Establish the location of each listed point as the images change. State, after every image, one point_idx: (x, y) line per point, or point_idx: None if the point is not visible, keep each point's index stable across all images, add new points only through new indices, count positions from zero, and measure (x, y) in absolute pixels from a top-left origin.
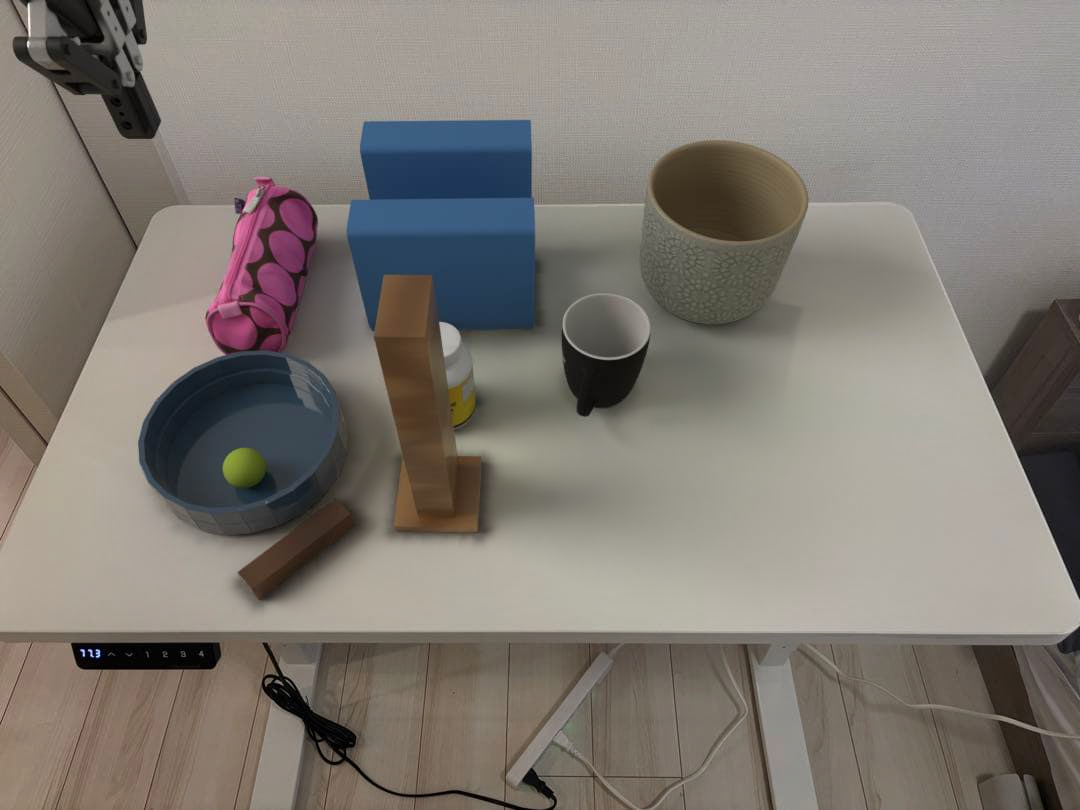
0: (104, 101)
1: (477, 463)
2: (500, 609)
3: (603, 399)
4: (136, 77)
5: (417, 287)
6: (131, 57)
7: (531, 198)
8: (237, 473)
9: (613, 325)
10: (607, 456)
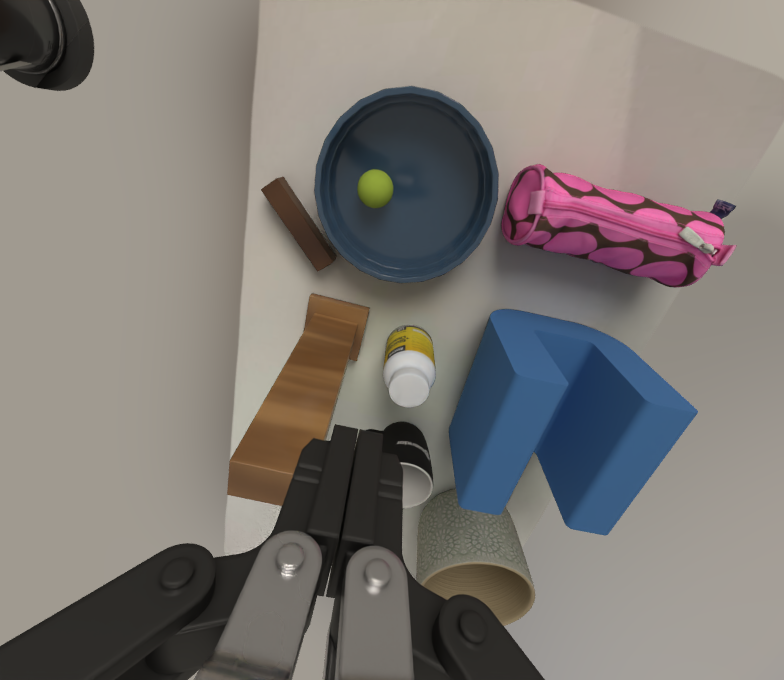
0: (281, 512)
1: (350, 358)
2: (248, 345)
3: None
4: (330, 595)
5: None
6: (324, 662)
7: (499, 513)
8: (361, 187)
9: (423, 474)
10: (346, 426)
